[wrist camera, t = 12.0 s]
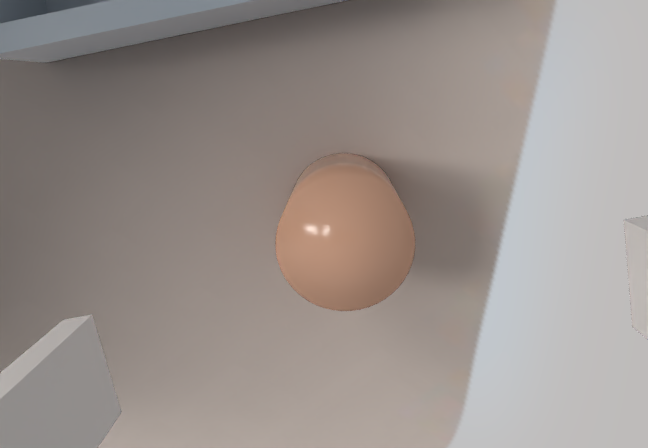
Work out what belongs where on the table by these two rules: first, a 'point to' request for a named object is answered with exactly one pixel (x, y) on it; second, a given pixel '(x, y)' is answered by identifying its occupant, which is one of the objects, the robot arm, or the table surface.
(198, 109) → the table surface
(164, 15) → the tote
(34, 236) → the table surface
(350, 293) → the peach rounded cylinder
